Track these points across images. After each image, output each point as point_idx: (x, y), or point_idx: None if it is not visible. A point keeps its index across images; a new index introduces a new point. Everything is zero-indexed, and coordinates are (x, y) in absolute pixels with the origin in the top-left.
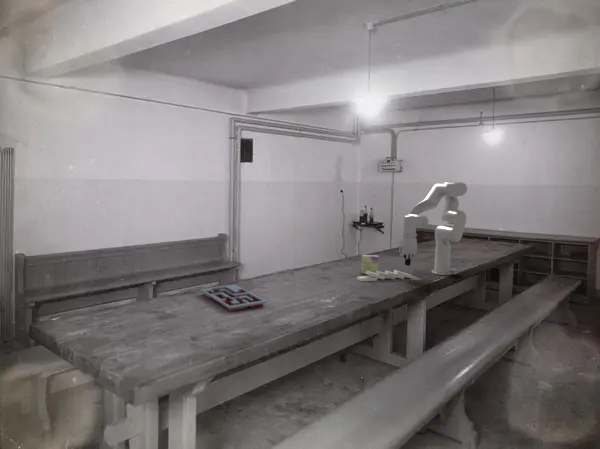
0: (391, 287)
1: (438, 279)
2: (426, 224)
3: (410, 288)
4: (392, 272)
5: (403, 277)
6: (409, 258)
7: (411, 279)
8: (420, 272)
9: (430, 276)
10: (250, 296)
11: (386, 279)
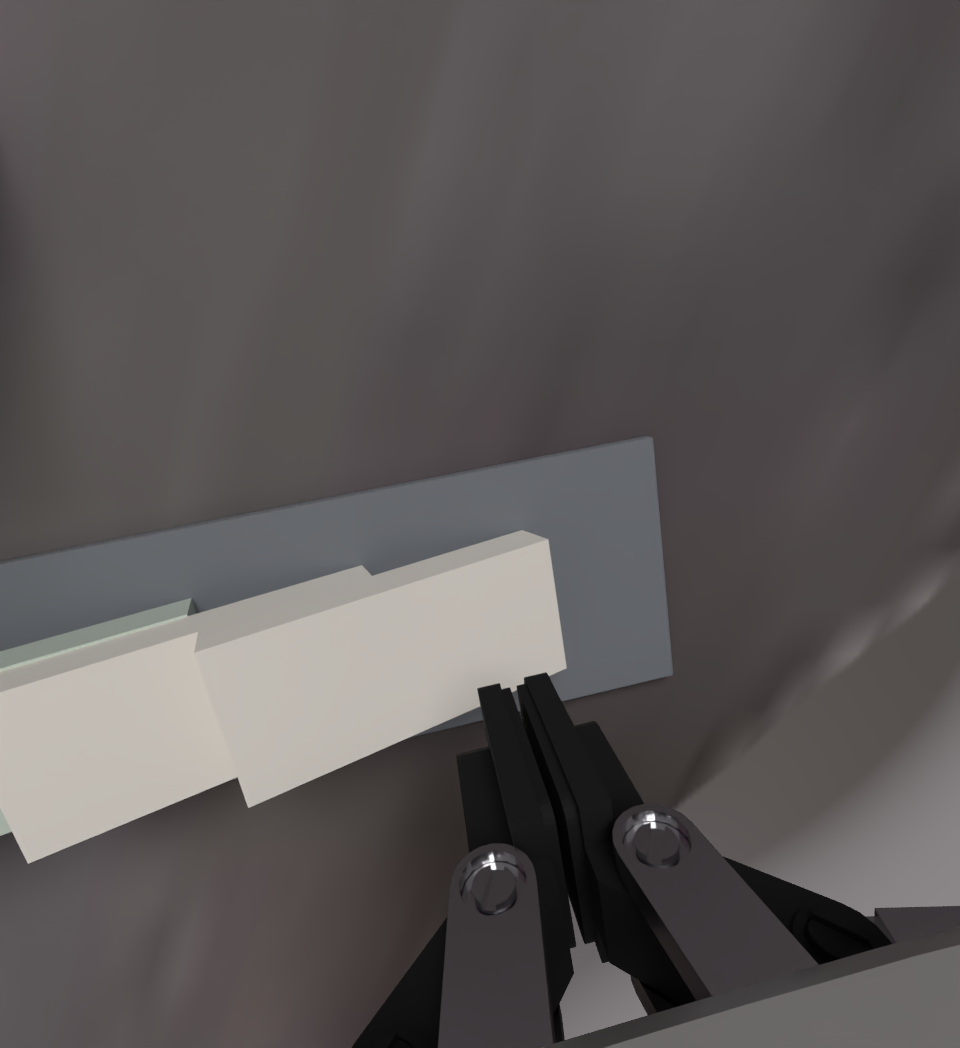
0: (110, 1030)
1: (911, 607)
2: None
3: (354, 1033)
4: (159, 709)
5: None
6: (626, 948)
7: (514, 691)
8: (915, 114)
9: (908, 431)
10: None
11: None
